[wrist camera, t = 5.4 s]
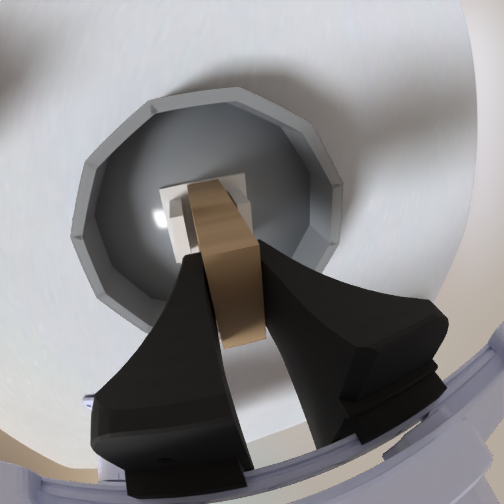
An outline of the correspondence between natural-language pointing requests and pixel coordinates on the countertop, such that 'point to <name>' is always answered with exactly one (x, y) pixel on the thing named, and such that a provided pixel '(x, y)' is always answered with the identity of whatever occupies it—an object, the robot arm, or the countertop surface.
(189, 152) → the grey faceted hollow container
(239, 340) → the tan wooden beam
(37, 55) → the countertop surface
